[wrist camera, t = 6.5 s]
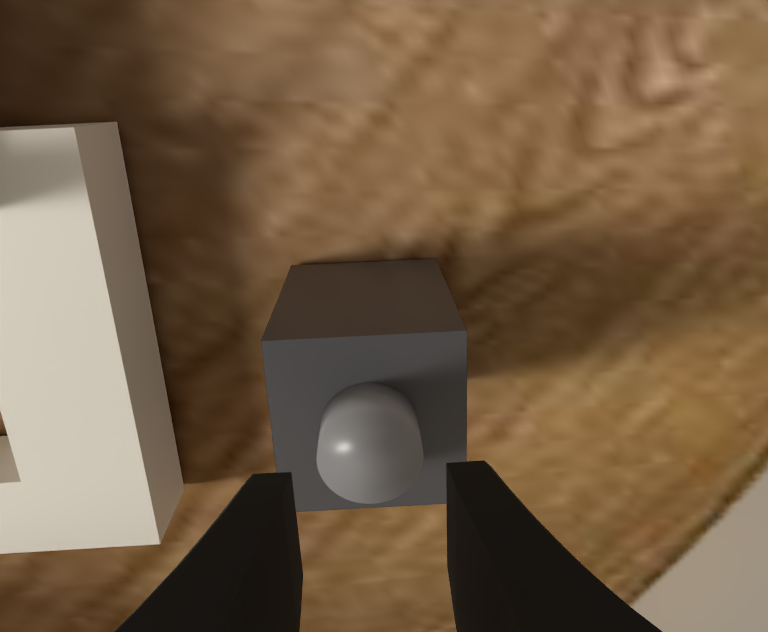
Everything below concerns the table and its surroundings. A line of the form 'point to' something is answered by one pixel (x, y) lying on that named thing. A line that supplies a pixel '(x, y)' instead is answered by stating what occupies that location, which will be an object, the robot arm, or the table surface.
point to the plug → (366, 384)
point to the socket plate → (78, 351)
